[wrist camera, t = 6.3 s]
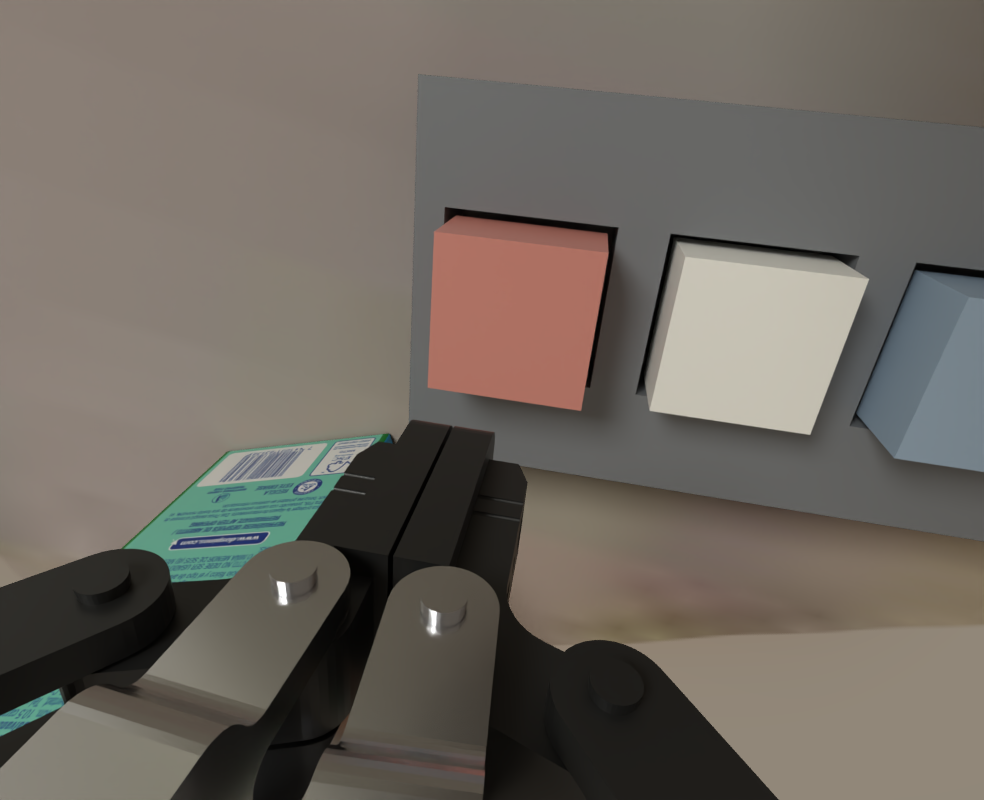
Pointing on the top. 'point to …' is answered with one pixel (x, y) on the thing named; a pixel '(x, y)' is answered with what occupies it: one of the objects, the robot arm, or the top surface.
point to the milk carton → (233, 519)
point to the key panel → (718, 218)
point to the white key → (749, 333)
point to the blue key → (932, 375)
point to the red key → (514, 309)
